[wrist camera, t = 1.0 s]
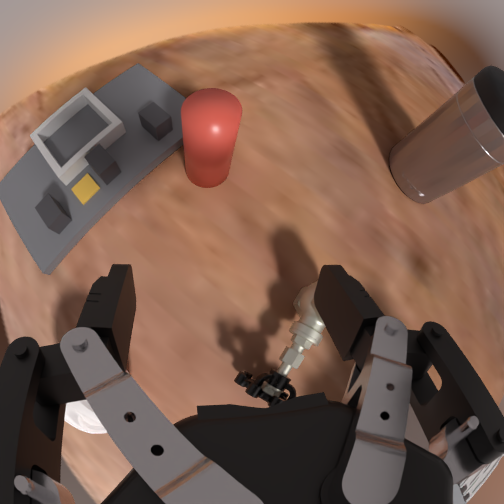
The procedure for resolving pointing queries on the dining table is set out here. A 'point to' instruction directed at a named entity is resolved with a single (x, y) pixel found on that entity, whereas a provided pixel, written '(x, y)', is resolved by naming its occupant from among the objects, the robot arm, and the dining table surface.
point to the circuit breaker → (460, 490)
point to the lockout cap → (209, 135)
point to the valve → (288, 352)
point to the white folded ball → (83, 417)
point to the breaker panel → (72, 142)
